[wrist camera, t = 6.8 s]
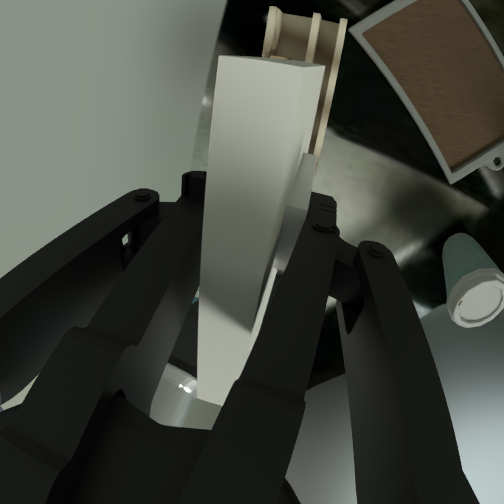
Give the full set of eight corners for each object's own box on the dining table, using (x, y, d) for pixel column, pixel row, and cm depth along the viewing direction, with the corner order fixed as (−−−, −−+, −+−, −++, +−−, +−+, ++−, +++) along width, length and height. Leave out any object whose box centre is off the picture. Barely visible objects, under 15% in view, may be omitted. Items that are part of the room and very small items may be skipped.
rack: (313, 178, 48) (310, 196, 43) (255, 164, 49) (243, 180, 44) (345, 26, 34) (347, 19, 29) (279, 13, 35) (269, 6, 30)
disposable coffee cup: (491, 230, 44) (525, 284, 32) (468, 278, 50) (490, 337, 38) (443, 215, 46) (471, 270, 34) (421, 267, 52) (437, 329, 40)
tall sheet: (299, 191, 30) (234, 409, 12) (282, 188, 30) (197, 397, 12) (325, 65, 23) (304, 67, 5) (306, 61, 23) (219, 55, 5)
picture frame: (447, -28, 24) (541, 145, 33) (443, -26, 25) (537, 142, 34) (347, 28, 34) (457, 198, 43) (347, 30, 35) (454, 194, 44)
